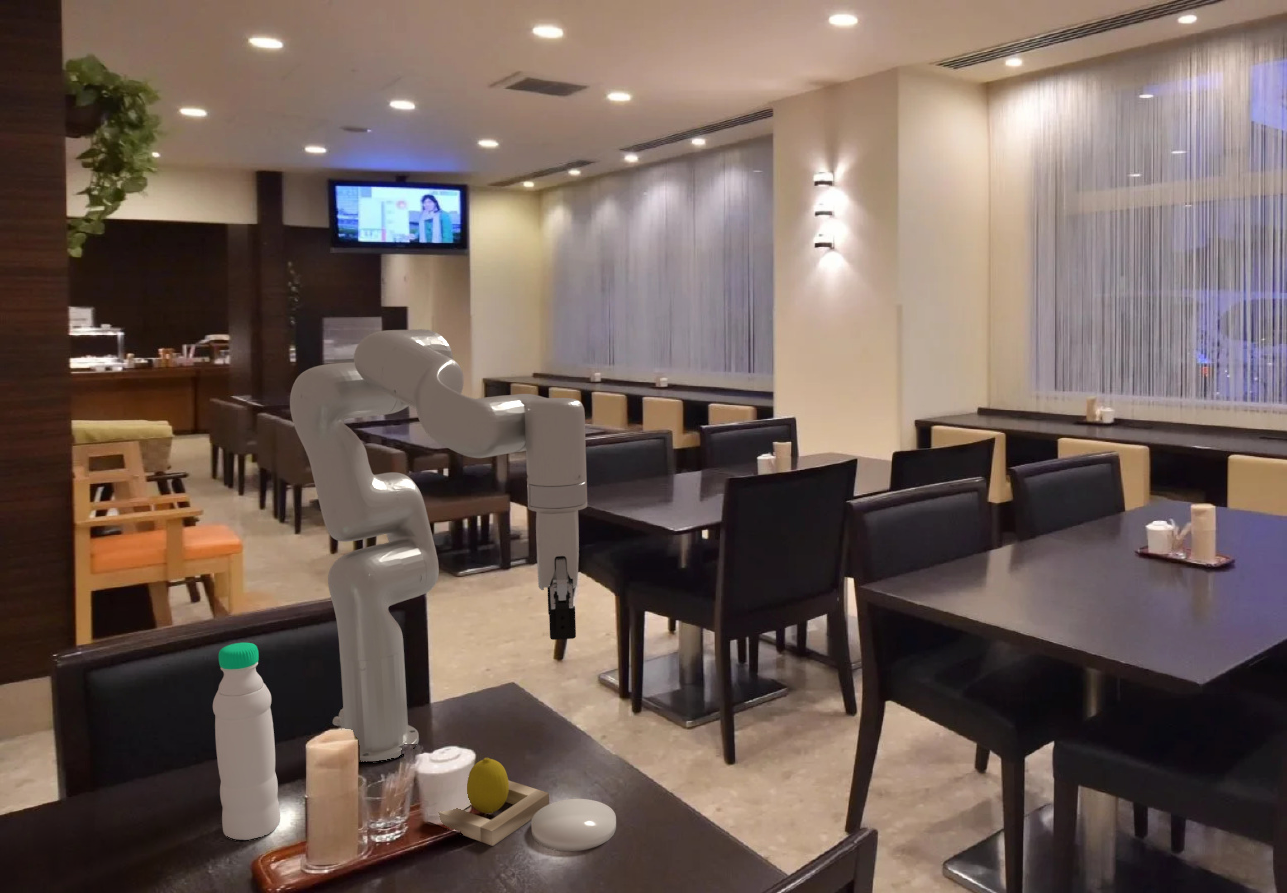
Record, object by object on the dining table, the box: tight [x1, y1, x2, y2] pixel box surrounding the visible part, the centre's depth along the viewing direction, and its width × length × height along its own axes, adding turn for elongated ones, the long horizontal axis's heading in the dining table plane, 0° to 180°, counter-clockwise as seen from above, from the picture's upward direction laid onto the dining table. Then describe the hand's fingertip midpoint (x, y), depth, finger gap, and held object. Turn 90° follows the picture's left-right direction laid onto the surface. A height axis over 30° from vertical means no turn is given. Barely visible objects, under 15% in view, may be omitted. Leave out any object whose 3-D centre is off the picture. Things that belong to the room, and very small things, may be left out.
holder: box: [438, 779, 550, 847], centre depth 131 cm, size 12×12×2 cm
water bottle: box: [212, 642, 281, 839], centre depth 127 cm, size 7×7×25 cm
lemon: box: [466, 757, 509, 814], centre depth 131 cm, size 6×6×8 cm
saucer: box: [530, 798, 617, 852], centre depth 127 cm, size 11×11×1 cm
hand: (561, 626), depth 126 cm, fingers open, 9 cm apart
